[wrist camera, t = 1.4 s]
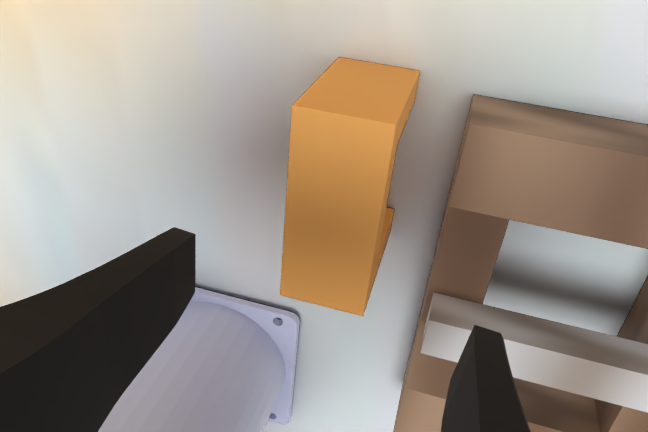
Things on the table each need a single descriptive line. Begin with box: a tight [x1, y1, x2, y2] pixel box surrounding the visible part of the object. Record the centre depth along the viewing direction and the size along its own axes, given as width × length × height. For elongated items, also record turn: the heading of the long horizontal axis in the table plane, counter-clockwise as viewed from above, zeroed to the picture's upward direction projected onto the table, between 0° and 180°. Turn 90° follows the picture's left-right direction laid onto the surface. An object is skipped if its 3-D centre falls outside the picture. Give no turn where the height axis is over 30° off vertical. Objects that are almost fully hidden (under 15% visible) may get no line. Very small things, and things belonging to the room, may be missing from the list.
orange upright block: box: [280, 57, 420, 316], centre depth 19 cm, size 3×7×6 cm, turn 175°
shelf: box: [393, 94, 648, 432], centre depth 21 cm, size 10×15×5 cm, turn 175°
